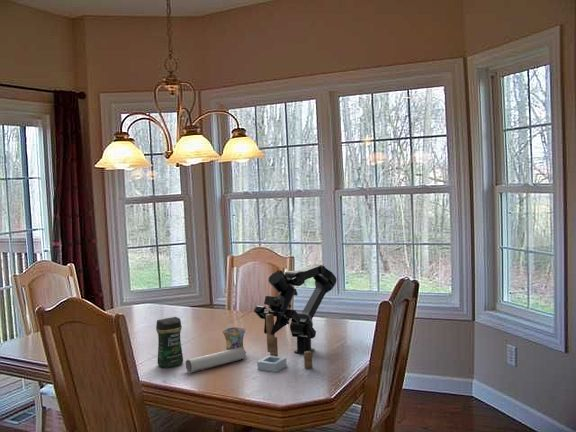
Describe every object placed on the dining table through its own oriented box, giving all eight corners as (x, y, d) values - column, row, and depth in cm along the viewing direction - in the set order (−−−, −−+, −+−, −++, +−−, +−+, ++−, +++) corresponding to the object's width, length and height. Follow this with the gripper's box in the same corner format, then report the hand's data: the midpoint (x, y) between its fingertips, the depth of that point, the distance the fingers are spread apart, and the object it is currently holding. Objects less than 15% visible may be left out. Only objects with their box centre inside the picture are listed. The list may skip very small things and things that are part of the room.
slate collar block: (268, 362, 215) (268, 355, 215) (286, 365, 211) (286, 357, 211) (257, 369, 208) (257, 361, 208) (275, 372, 204) (275, 364, 204)
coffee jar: (163, 369, 212) (160, 322, 211) (155, 365, 219) (152, 318, 218) (186, 364, 218) (184, 317, 217) (177, 359, 224) (175, 314, 223)
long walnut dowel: (270, 349, 212) (268, 313, 211) (277, 350, 210) (275, 314, 209) (265, 351, 209) (264, 315, 208) (272, 352, 207) (270, 316, 206)
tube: (239, 346, 225) (184, 359, 210) (246, 344, 221) (190, 358, 206) (242, 359, 224) (186, 374, 209) (249, 358, 220) (193, 372, 205)
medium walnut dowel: (273, 358, 221) (272, 336, 220) (279, 359, 219) (278, 336, 219) (269, 360, 218) (268, 338, 218) (275, 361, 217) (274, 338, 216)
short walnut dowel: (306, 366, 210) (306, 350, 209) (313, 367, 208) (313, 351, 208) (303, 368, 207) (302, 352, 207) (310, 369, 206) (309, 353, 205)
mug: (250, 356, 225) (249, 330, 224) (229, 360, 220) (228, 334, 219) (237, 349, 235) (236, 324, 234) (217, 353, 230) (216, 328, 229)
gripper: (255, 285, 217) (238, 319, 208) (294, 289, 206) (278, 325, 197) (268, 301, 223) (252, 334, 215) (307, 305, 213) (292, 341, 204)
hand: (268, 333), depth 208 cm, fingers closed on long walnut dowel, 3 cm apart
